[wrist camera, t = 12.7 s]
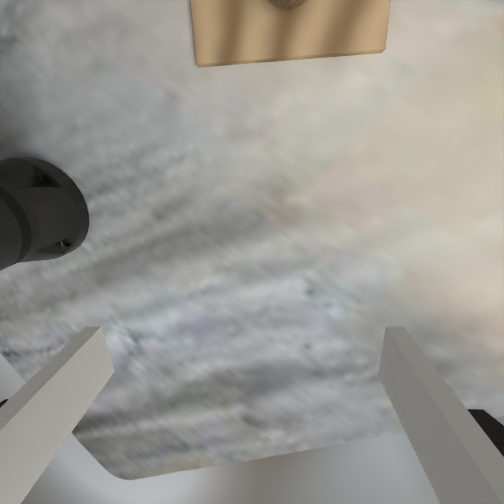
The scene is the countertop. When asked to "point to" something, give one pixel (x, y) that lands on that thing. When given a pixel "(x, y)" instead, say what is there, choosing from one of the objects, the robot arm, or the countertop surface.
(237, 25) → the board
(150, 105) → the countertop surface
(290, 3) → the vase
